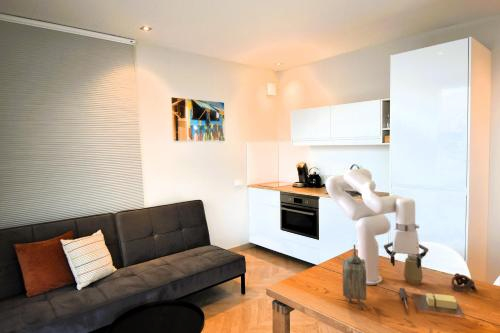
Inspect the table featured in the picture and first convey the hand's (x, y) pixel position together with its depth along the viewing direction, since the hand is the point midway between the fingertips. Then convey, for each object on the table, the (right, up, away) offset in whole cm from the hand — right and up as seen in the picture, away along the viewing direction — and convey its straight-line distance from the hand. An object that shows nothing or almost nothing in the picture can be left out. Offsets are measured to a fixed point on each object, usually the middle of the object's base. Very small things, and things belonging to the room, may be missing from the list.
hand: (405, 266), depth 133 cm
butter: (+12, -13, -8) cm, 20 cm away
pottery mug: (+29, -13, +6) cm, 33 cm away
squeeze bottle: (+11, -14, +14) cm, 22 cm away
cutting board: (+9, -15, -6) cm, 19 cm away
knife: (-2, -15, -3) cm, 15 cm away
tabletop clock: (-23, -16, -1) cm, 27 cm away
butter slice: (+7, -14, -6) cm, 16 cm away
